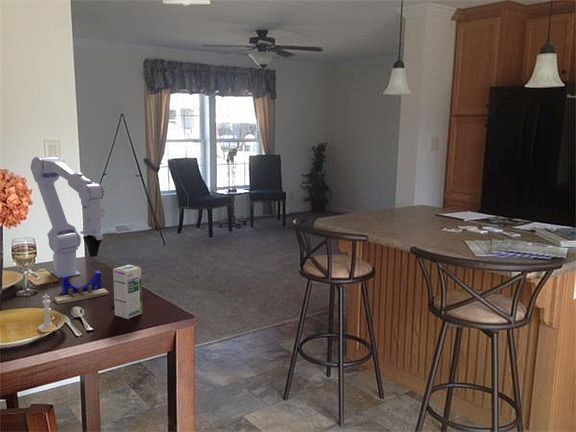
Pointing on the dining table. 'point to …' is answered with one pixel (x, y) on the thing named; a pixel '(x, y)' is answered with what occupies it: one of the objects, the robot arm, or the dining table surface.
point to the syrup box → (127, 291)
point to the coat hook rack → (80, 294)
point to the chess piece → (46, 314)
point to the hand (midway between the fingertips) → (93, 256)
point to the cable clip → (94, 282)
